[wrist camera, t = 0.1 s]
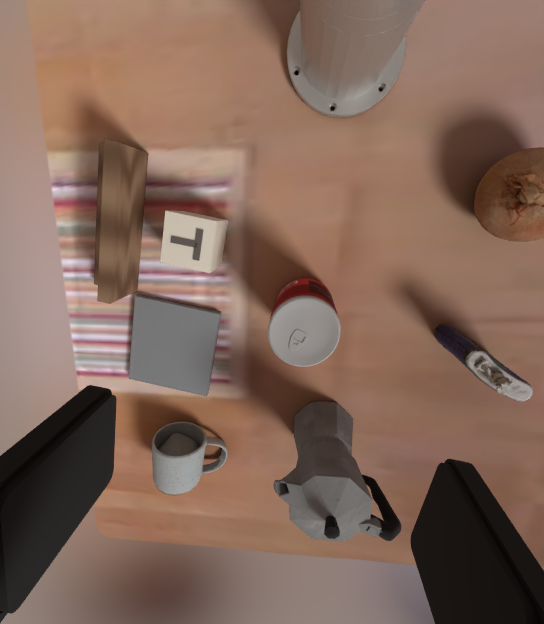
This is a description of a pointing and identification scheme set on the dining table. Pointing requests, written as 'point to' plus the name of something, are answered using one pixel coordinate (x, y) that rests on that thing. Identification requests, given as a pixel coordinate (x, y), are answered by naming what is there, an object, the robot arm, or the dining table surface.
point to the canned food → (304, 323)
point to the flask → (483, 364)
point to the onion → (513, 197)
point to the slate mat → (173, 344)
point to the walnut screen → (119, 219)
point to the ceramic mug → (182, 457)
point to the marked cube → (193, 240)
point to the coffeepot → (332, 480)
